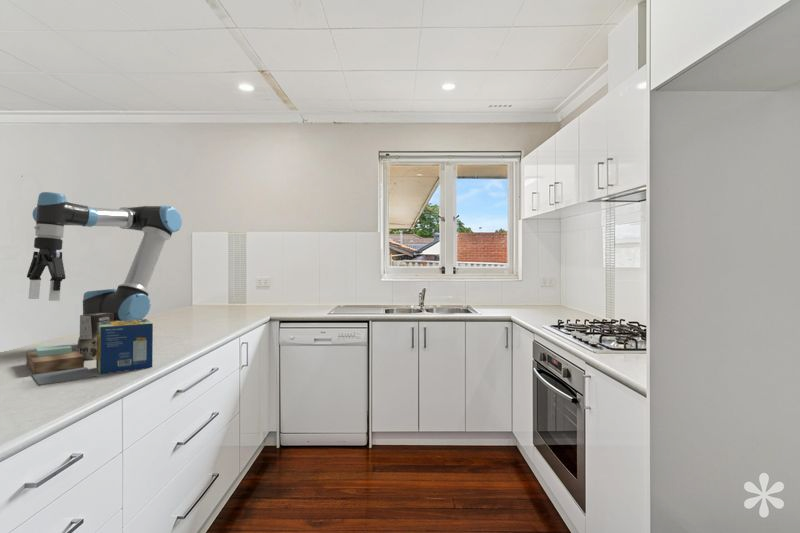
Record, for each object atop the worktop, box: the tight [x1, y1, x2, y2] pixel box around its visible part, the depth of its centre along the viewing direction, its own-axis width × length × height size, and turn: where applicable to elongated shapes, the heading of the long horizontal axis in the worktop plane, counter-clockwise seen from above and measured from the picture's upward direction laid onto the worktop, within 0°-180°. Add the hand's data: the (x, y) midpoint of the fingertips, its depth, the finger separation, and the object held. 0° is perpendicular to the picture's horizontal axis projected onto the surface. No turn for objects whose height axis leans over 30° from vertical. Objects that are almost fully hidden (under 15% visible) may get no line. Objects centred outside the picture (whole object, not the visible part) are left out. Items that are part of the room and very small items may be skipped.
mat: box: [31, 366, 97, 386], centre depth 138 cm, size 14×14×1 cm
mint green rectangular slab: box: [35, 344, 73, 357], centre depth 150 cm, size 9×6×2 cm, turn 136°
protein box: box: [95, 318, 154, 375], centre depth 149 cm, size 10×15×16 cm
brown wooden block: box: [25, 347, 85, 375], centre depth 149 cm, size 13×18×4 cm
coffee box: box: [78, 313, 114, 361], centre depth 163 cm, size 9×6×16 cm
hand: (43, 299), depth 149 cm, fingers open, 13 cm apart
